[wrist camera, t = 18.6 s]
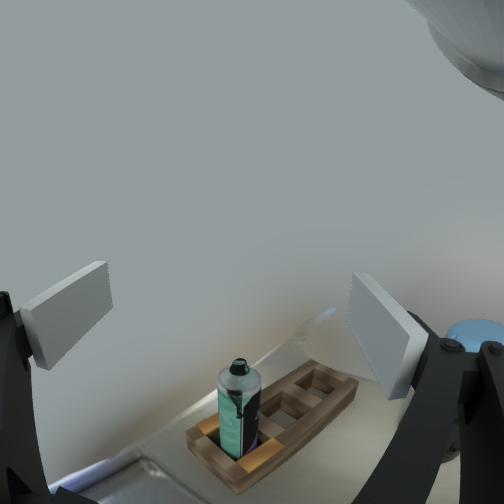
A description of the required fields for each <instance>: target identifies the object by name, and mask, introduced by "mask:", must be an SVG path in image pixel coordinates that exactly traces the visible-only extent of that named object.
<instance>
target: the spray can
mask: <svg viewBox="0 0 504 504" xmlns="http://www.w3.org/2000/svg"><path fill="white" fill-rule="evenodd" d="M217 388H218V410H219V428H220V444H221V450H222V451H223V452H224V453H225V454H227V455H228V456H229V457H230V458H231V459H232V460H234V461H235V462H236V461H238V460H239V459H241V458H242V457H244V456H245V455H247V454H249V453H250V452H252V451H253V450H255V449H256V448H257V435H258V423H259V410H260V396H261V376H260V374H259V372H258V371H257V370H255V369H254V368H252V367H249V366H247V363H246V360H245V359H242V358H239V359H236V360H234V361H233V363H232V365H231V366H229V367H226V368H224V369H223V370H221V371H220V373H219V375H218V381H217ZM236 463H237V462H236Z"/></svg>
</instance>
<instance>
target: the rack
mask: <svg viewBox="0 0 504 504" xmlns="http://www.w3.org/2000/svg"><path fill="white" fill-rule="evenodd" d="M358 384H359V381H357V380H355V379H352V378H350V377H348V376H346V375H343V374H341V373H339V372H337V371H335V370H333V369H330V368H328V367H326V366H324V365H322V364H320V363H318V362H316V361H314V360H312V359H310V360H309V361H308V362H306V363H305V364H303V365H302V366H300V367H298V368H297V369H295V370H294V371H292V372H291V373H289V374H288V375H286V376H285V377H283V378H281V379H280V380H278V381H277V382H275V383H273V384H272V385H270V386H268V387H267V388H265V389H263V390H262V391H261V396H260V410H259V423H258V435H257V448H256V449H255V450H253V451H252V452H250V453H249V454H247V455H245V456H244V457H242V458H241V459H239V460H238V461H236V462H237V463H236V462H235V461H234V460H232V459H231V458H230V457H229V456H228V455H227V454H225V453H224V452H223V451H222V450H221V449H220V448H219V447H220V446H221V444H220V428H219V413H217V414H215V415H213V416H211V417H209V418H207V419H205V420H203V421H201V422H199V423H197V424H196V426H195V427H193V428H191V429H189V430H187V431H185V432H186V438H187V443H188V448H189V450H190V451H191V452H192V453H193V454H194V455H195V456H196V457H197V458H198V459H199V460H200V461H201V462H202V463H203V464H204V465H205V466H206V467H207V468H208V469H209V470H210V471H211V472H212V473H213V474H214V475H215V476H216V477H218V478H219V479H220V480H221V481H222V482H223V483H224V484H225V485H226V486H227V487H229V488H230V489H231V490H232V491H233V492H234V493H236V494H237V495H239V494H241V493H242V492H244V491H245V490H247V489H248V488H250V487H251V486H253V485H254V484H256V483H257V482H258V481H260V480H261V479H263V478H264V477H265V476H267V475H268V474H270V473H271V472H272V471H274V470H275V469H276V468H278V467H279V466H280V465H282V464H283V463H284V462H285V461H287V460H288V459H289V458H290V457H292V456H293V455H294V454H295V453H297V452H298V451H299V450H300V449H301V448H303V447H304V446H305V445H306V444H307V443H308V442H310V441H311V440H312V439H313V438H314V437H315V436H316V435H318V434H319V433H320V432H321V431H322V430H323V429H324V428H325V427H326V426H327V425H328V424H330V423H331V422H332V421H333V420H334V419H335V418H336V417H337V416H338V415H339V414H340V413H341V412H342V411H343V410H344V409H345V408H346V407H347V406H348V405H349V404H350V403H351V402H352V401H353V400H354V397H355V394H356V390H357V387H358ZM311 386H312V387H314V388H316V389H318V390H320V391H322V392H324V393H326V394H328V396H327V397H325V398H324V399H321V398H319V397H317V396H315V395H313V394H312V393H310V392H308V391H306V390H307V389H308V388H309V387H311ZM279 409H281V410H282V411H284V412H286V413H287V414H289V415H290V416H292V417H294V418H295V419H297V421H296V422H295V423H293V424H292V425H291V426H289V427H288V428H287V429H284V428H283V427H281V426H280V425H278V424H277V423H275V422H274V421H272V420H271V419H269V418H268V417H269V416H270V415H272V414H273V413H275V412H276V411H277V410H279Z"/></svg>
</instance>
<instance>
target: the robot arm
mask: <svg viewBox="0 0 504 504" xmlns="http://www.w3.org/2000/svg"><path fill="white" fill-rule="evenodd" d="M406 1H407V2H408V3H409V4H410V5H411V6H413V7H414V8H415V9H416V10H417V11H418V12H419V13H420V14H421V15H423V16H424V17H425V18H426V19H427V23H428V27H429V30H430V32H431V35H432V37H433V39H434V41H435V42H436V44H437V46H438V47H439V49H440V50H441V51H442V52H443V54H444V55H445V56H446V58H447V59H448V60H449V61H450V62H451V63H452V64H453V65H454V66H455V67H456V68H457V69H458V70H459V71H460V72H461V73H462V74H463V75H464V76H466V77H467V78H468V79H470V80H471V81H472V82H474V83H475V84H476V85H478V86H479V87H480V88H482V89H484V90H486V91H487V92H489V93H491V94H492V95H494V96H496V97H498V98H500V99H502V100H504V0H406ZM112 308H113V304H112V297H111V291H110V283H109V274H108V264H107V262H105V261H95V262H94V263H92V264H90V265H88V266H86V267H85V268H83V269H81V270H79V271H78V272H76V273H74V274H72V275H71V276H69V277H67V278H66V279H64V280H62V281H60V282H59V283H57V284H55V285H54V286H52V287H50V288H49V289H47V290H46V291H44V292H42V293H41V294H39V295H38V296H36V297H34V298H33V299H31V300H29V301H28V302H26V303H25V304H23V305H22V306H20V307H19V310H18V311H17V312H15V313H13V308H12V304H11V300H10V296H9V293H8V292H5V291H1V292H0V504H99V503H97V502H95V501H93V500H90V499H88V498H85V497H83V496H80V495H78V494H76V493H74V492H71V491H69V490H67V489H65V488H63V487H60V486H59V488H58V489H57V491H56V493H55V494H51V493H50V491H49V489H48V486H47V483H46V479H45V476H44V471H43V466H42V462H41V457H40V452H39V446H38V440H37V435H36V427H35V420H34V411H33V401H32V385H31V366H30V363H29V360H28V358H29V357H30V356H32V355H33V357H34V360H35V362H36V365H37V367H40V368H43V369H46V370H50V369H51V368H52V367H53V366H54V365H55V364H56V363H57V362H58V361H59V360H60V359H61V358H62V357H63V356H64V355H65V354H66V353H67V352H68V351H69V350H70V349H71V348H72V347H73V346H74V345H75V344H76V343H77V342H78V341H79V340H80V339H81V338H82V337H83V336H84V335H85V334H86V333H87V332H88V331H89V330H90V329H91V328H92V327H93V326H94V325H95V324H96V323H97V322H98V321H99V320H100V319H101V318H102V317H103V316H104V315H106V314H107V313H108V312H109V311H110V310H111V309H112ZM346 322H347V324H348V326H349V328H350V329H351V331H352V333H353V335H354V336H355V338H356V340H357V342H358V344H359V346H360V347H361V349H362V351H363V353H364V355H365V357H366V358H367V360H368V362H369V364H370V366H371V368H372V370H373V371H374V373H375V375H376V377H377V379H378V381H379V383H380V385H381V387H382V389H383V391H384V393H385V395H386V397H387V399H388V400H393V399H400V398H406V396H407V394H408V391H409V388H410V386H411V385H412V387H413V388H414V390H415V393H414V395H413V398H412V400H411V402H410V404H409V406H408V409H407V411H406V413H405V414H404V416H403V417H402V420H401V422H400V424H399V426H398V429H397V431H396V433H395V435H394V437H393V438H392V440H391V442H390V444H389V446H388V448H387V449H386V451H385V453H384V455H383V456H382V458H381V460H380V461H379V463H378V465H377V466H376V468H375V470H374V471H373V473H372V474H371V476H370V477H369V479H368V480H367V482H366V483H365V485H364V486H363V488H362V489H361V491H360V492H359V494H358V495H357V496H356V498H355V499H354V500H353V502H352V503H351V504H425V503H426V500H427V498H428V496H429V493H430V491H431V489H432V486H433V484H434V481H435V478H436V476H437V473H438V470H439V468H440V465H441V463H445V462H448V461H450V460H452V459H454V458H455V457H457V456H458V455H459V454H460V464H461V470H460V498H459V504H504V326H502V324H500V323H497V322H494V321H490V320H484V319H469V320H463V321H460V322H458V323H456V324H454V325H453V326H452V327H451V328H450V329H449V330H448V332H447V334H446V337H445V338H439V337H438V336H437V335H436V334H435V333H434V332H433V331H432V330H431V329H430V328H429V327H428V326H427V325H426V324H425V323H423V321H422V320H421V319H420V318H419V317H418V316H417V315H415V314H413V313H411V312H409V311H405V310H404V309H403V308H402V307H401V306H400V305H399V304H398V303H397V302H396V301H395V300H394V299H393V298H392V297H391V296H390V295H389V294H388V293H387V292H386V291H385V290H384V289H383V288H382V287H381V286H380V285H379V284H378V283H377V282H376V281H375V280H374V279H373V278H372V277H371V276H369V275H368V274H367V273H363V272H360V273H359V272H353V275H352V282H351V290H350V296H349V302H348V308H347V314H346Z"/></svg>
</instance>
